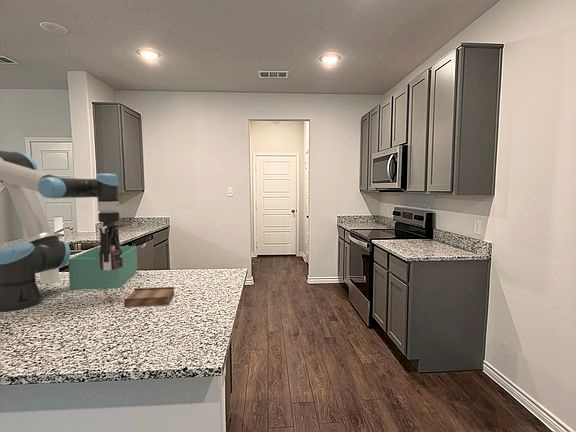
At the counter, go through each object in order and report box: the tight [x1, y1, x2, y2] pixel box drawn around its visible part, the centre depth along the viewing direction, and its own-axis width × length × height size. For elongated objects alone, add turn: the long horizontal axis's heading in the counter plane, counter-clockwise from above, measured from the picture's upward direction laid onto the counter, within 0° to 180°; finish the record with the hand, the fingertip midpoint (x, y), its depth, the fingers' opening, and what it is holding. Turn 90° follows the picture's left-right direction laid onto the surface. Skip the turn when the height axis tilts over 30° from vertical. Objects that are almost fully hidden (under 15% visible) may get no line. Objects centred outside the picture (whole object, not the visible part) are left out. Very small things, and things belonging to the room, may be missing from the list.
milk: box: [39, 267, 60, 285], centre depth 159 cm, size 6×6×22 cm
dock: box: [123, 286, 175, 308], centre depth 134 cm, size 16×14×3 cm
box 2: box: [99, 250, 123, 270], centre depth 134 cm, size 6×6×7 cm
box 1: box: [68, 245, 138, 291], centre depth 164 cm, size 21×32×14 cm, turn 11°
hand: (111, 267), depth 134 cm, fingers closed on box 2, 7 cm apart
